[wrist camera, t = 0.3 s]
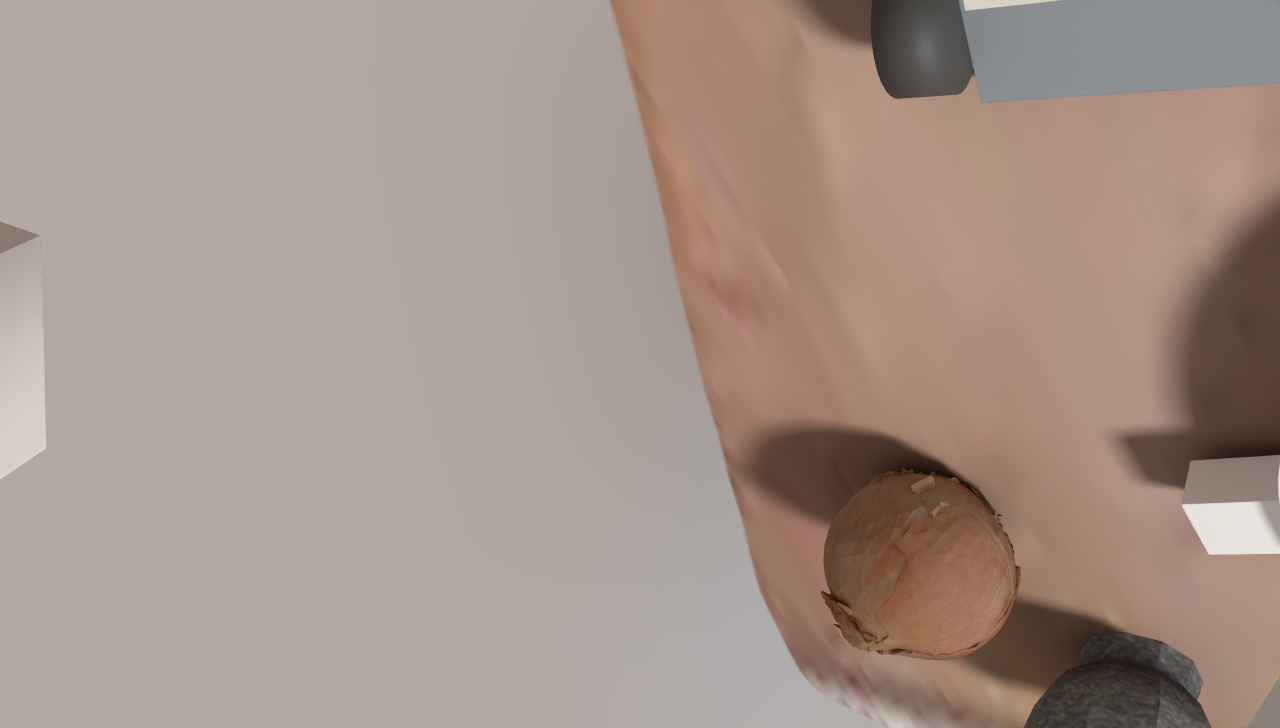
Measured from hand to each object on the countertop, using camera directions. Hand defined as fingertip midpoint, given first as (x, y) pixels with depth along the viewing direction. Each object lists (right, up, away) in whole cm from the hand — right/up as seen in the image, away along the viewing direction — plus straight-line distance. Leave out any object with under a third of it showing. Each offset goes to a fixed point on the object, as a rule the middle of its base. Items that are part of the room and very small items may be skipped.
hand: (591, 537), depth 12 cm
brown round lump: (+16, -5, +49) cm, 52 cm away
